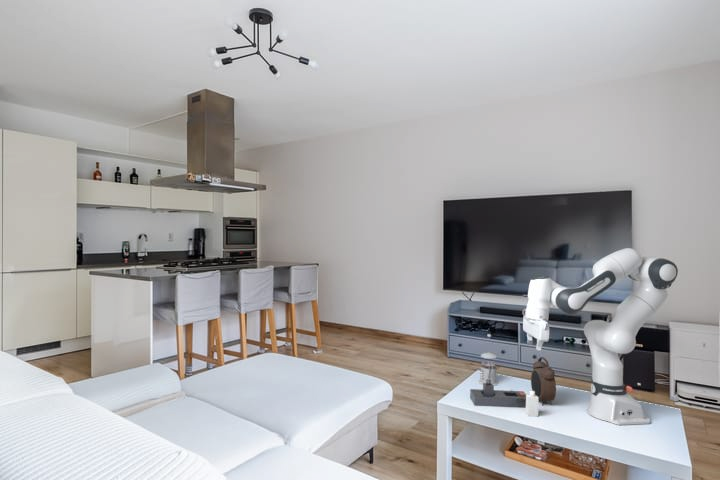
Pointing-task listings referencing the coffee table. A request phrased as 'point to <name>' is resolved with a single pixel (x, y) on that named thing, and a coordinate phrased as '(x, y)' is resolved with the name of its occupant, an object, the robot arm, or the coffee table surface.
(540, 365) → the alarm clock
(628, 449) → the coffee table surface
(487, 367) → the french press
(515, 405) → the strip
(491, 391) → the twin plug
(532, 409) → the white rectangular bottle
